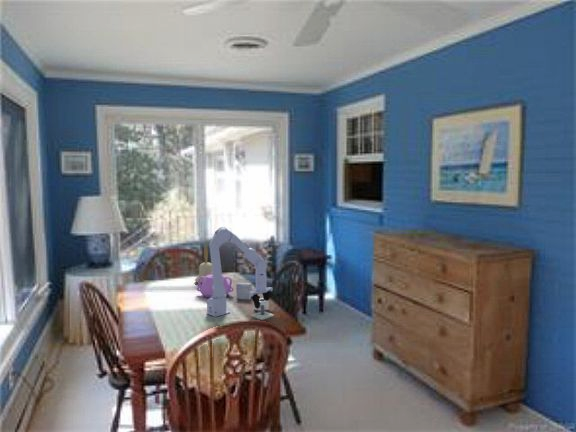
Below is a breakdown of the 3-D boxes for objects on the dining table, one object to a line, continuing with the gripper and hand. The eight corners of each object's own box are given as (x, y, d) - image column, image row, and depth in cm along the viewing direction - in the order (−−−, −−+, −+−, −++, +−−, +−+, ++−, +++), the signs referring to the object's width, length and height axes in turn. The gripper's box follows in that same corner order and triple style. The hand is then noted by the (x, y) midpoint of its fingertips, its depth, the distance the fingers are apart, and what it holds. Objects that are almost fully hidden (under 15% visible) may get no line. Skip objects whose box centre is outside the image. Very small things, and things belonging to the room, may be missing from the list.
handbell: (199, 286, 294) (197, 247, 292) (191, 281, 308) (190, 243, 305) (222, 283, 302) (220, 245, 299) (214, 278, 315) (212, 241, 313)
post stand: (261, 319, 227) (261, 309, 227) (251, 316, 233) (251, 305, 233) (273, 316, 233) (273, 305, 232) (263, 312, 239) (263, 302, 238)
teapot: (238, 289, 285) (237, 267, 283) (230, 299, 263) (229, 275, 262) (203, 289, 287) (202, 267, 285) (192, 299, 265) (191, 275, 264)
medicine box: (252, 297, 267) (251, 283, 266) (249, 300, 262) (249, 284, 262) (239, 296, 269) (239, 282, 268) (236, 299, 265) (236, 284, 264)
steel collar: (260, 311, 240) (260, 302, 240) (253, 309, 244) (253, 300, 244) (269, 309, 244) (268, 300, 244) (262, 307, 248) (261, 298, 248)
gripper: (255, 285, 235) (255, 311, 236) (276, 280, 245) (276, 305, 246) (246, 283, 240) (247, 308, 241) (267, 278, 250) (267, 302, 251)
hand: (261, 306), depth 244 cm, fingers open, 6 cm apart
